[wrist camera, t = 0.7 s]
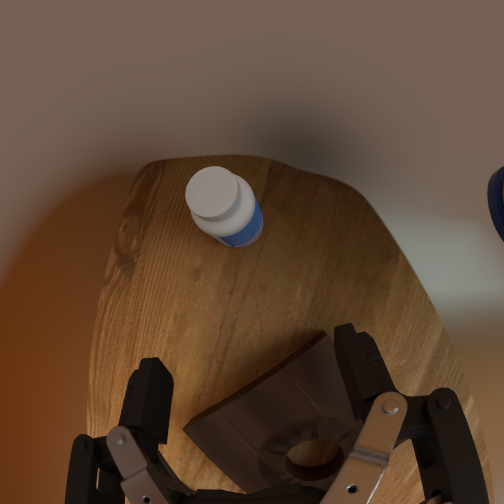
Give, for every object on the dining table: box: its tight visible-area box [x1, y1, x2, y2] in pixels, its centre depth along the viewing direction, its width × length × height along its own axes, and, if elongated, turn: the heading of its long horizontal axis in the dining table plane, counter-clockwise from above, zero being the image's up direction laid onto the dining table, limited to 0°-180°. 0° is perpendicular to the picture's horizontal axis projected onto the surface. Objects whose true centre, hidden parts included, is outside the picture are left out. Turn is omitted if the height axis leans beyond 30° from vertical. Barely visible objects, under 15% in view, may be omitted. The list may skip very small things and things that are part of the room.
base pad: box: [183, 330, 406, 494], centre depth 23 cm, size 18×17×3 cm
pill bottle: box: [185, 166, 264, 248], centre depth 24 cm, size 6×5×10 cm
